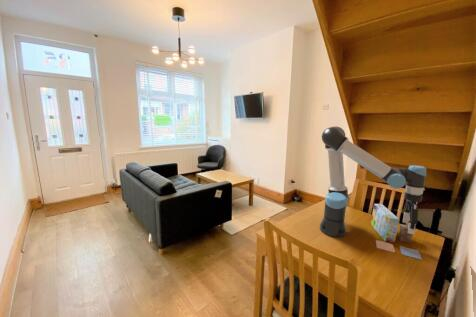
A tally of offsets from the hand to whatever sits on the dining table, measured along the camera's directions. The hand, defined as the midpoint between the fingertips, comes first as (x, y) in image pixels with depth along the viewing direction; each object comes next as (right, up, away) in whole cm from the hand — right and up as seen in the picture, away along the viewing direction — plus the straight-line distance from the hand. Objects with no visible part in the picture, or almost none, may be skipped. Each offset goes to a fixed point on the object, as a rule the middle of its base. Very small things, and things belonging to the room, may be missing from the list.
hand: (408, 227), depth 119 cm
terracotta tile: (-17, -9, -5) cm, 20 cm away
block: (0, -7, +2) cm, 8 cm away
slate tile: (-7, -10, -10) cm, 16 cm away
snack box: (-9, -6, +9) cm, 14 cm away
